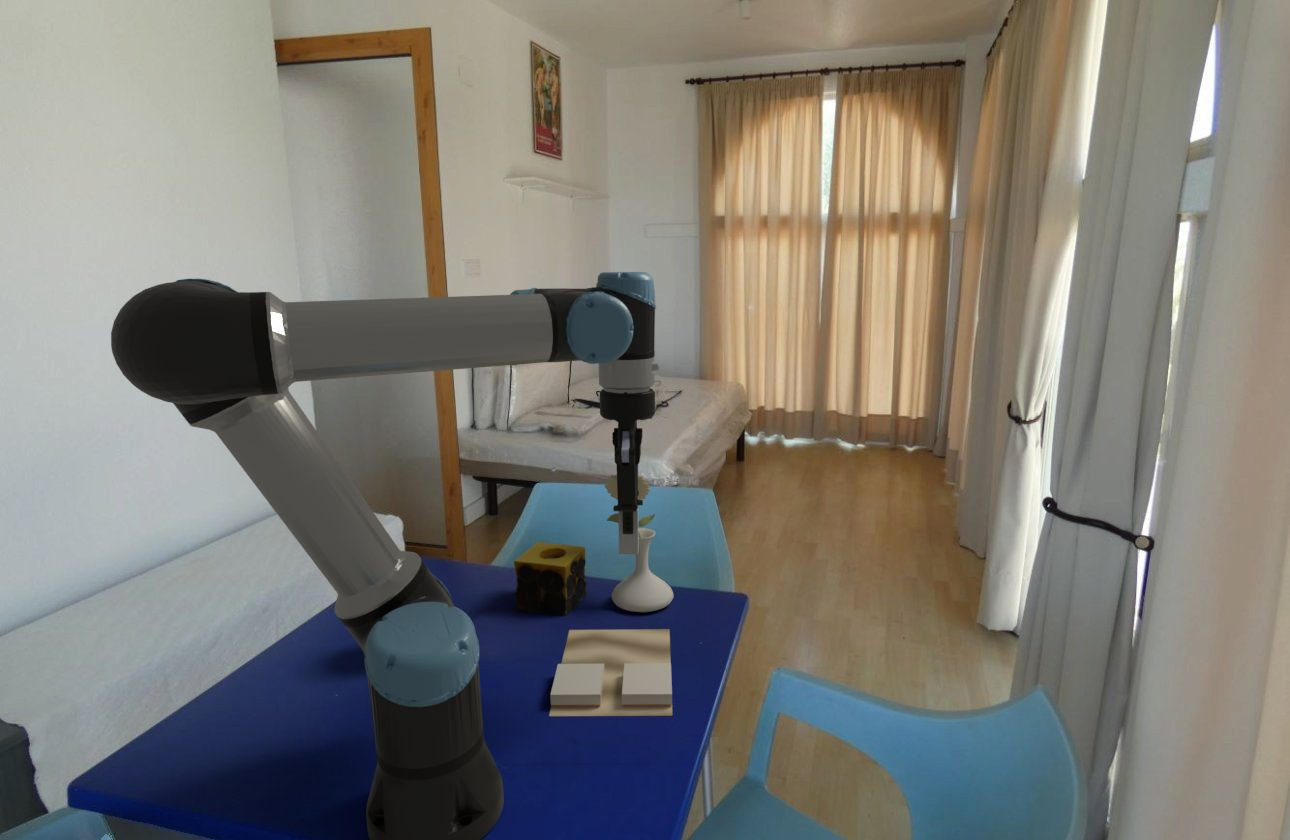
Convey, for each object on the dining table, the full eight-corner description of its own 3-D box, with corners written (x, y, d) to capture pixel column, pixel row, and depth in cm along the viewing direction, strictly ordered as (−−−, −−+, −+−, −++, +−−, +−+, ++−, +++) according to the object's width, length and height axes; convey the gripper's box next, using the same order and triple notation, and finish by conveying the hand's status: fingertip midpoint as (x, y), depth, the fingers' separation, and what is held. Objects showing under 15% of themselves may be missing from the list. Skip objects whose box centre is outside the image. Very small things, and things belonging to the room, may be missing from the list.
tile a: (604, 675, 111) (600, 707, 103) (558, 675, 111) (551, 707, 103) (604, 663, 110) (600, 694, 102) (557, 663, 110) (550, 694, 102)
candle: (514, 613, 132) (511, 561, 130) (538, 589, 141) (535, 540, 139) (567, 620, 129) (564, 567, 127) (587, 595, 139) (586, 545, 136)
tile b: (671, 675, 110) (672, 706, 103) (624, 675, 110) (622, 707, 103) (670, 663, 110) (672, 694, 102) (624, 663, 110) (621, 694, 102)
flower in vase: (683, 597, 137) (683, 468, 132) (656, 624, 127) (654, 486, 122) (623, 584, 143) (620, 460, 138) (592, 608, 133) (587, 476, 128)
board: (672, 719, 101) (672, 715, 101) (549, 720, 101) (549, 716, 101) (669, 632, 124) (669, 629, 124) (569, 633, 124) (569, 629, 124)
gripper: (653, 396, 93) (654, 571, 97) (656, 380, 105) (656, 535, 110) (594, 396, 93) (597, 570, 98) (603, 380, 106) (606, 535, 110)
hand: (628, 552), depth 104 cm, fingers closed
